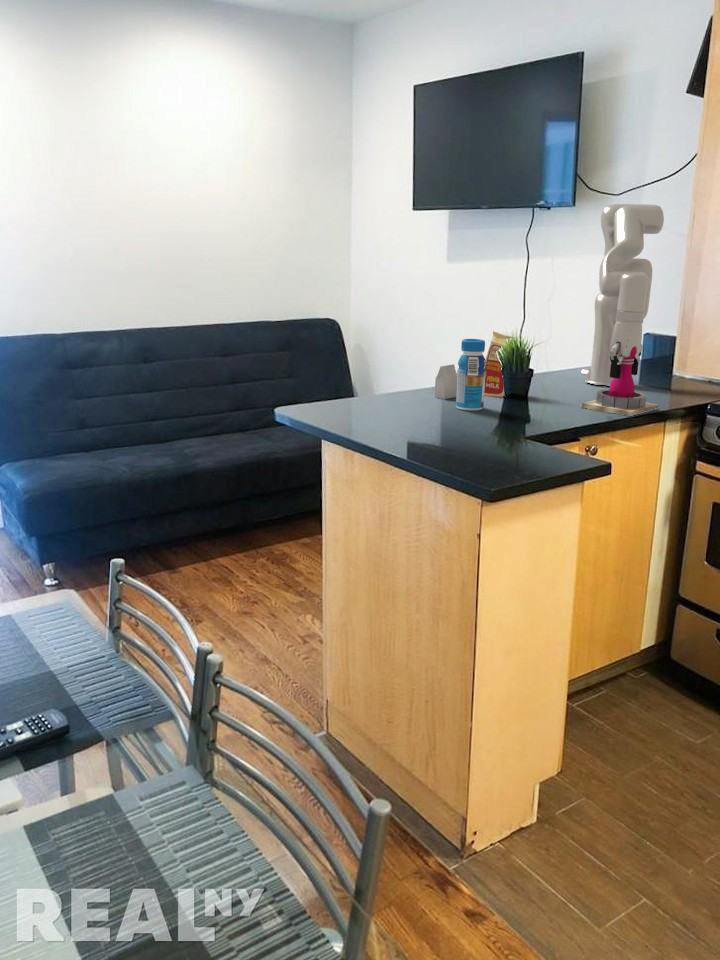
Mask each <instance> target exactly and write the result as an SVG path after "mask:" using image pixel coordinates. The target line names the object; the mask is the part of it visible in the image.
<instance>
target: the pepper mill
mask: <svg viewBox="0 0 720 960" xmlns="http://www.w3.org/2000/svg"><path fill="white" fill-rule="evenodd" d="M636 353H637V347H636V346H634V347H633V348H632V350H631V352H630V357H627V358H623V360H622V362H621V364H620V365H622V368H621V377H620V378H619V379H617V378H613V380H612V381H611V384H610V387H609V388H608V390H609V391H610V393H611V394H612V396H614V397H626V398H630V396H631V395H632V394H633V393H634V391H635V388H636V387H635V381H634V379H633V375H632V373H631V368H632V364H633V363H634V362H633V360H634V359H633V357H634V356H635V355H636ZM618 359H619V358H618ZM635 392H636V391H635Z"/></svg>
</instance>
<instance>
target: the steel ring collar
mask: <svg viewBox="0 0 720 960" xmlns="http://www.w3.org/2000/svg"><path fill="white" fill-rule="evenodd" d="M595 400H596V404H599V405H602V406H606V407H612V408H623V409H637V408H642V407H645V404H646V403H647V394H645V393H643V392H639V391H634V393H633V394H632V395H631V396H630V398H626V397H614V396H612V394H611V393H610V391H609V389H601V390H598V391H596V398H595Z"/></svg>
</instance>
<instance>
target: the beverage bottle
mask: <svg viewBox="0 0 720 960" xmlns="http://www.w3.org/2000/svg"><path fill="white" fill-rule="evenodd" d="M460 347H461V352H463V353H462V354H461V355H460V357H459V359H458V362H457V365H458V368H457V371H456V373H457V396H456V397H455V398H456V399H455V407H456V409H458V410H462V411H471V412H472V411H473V412H474V411H480V410H483V409H484V407H485V396H484V390H485V377H486V370H485V366H486V357H485V356H484V353H485V351H486V348H485V347H486V340H484V339H479V338H463V339H461V346H460Z"/></svg>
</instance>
